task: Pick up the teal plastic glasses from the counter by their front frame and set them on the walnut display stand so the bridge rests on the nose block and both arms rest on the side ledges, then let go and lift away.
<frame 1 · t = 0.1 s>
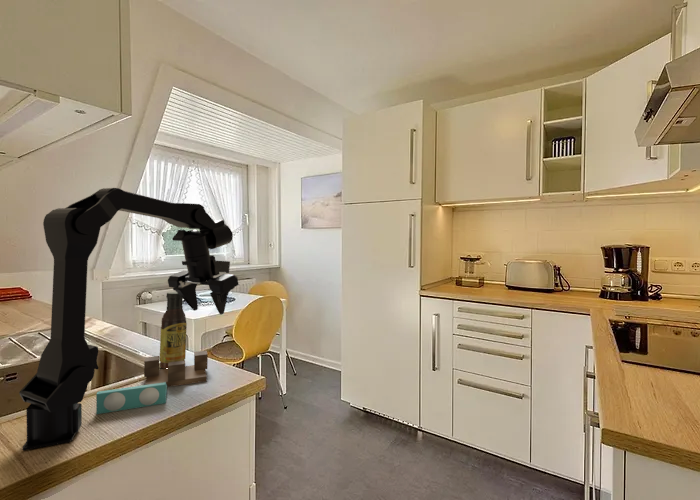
hand: (208, 311, 92), 15 cm above the table, tool pointing down, fingers open, 9 cm apart
glasses: (132, 407, 72), on the table
sauce bottle: (173, 366, 95), on the table
display stand: (176, 378, 87), on the table
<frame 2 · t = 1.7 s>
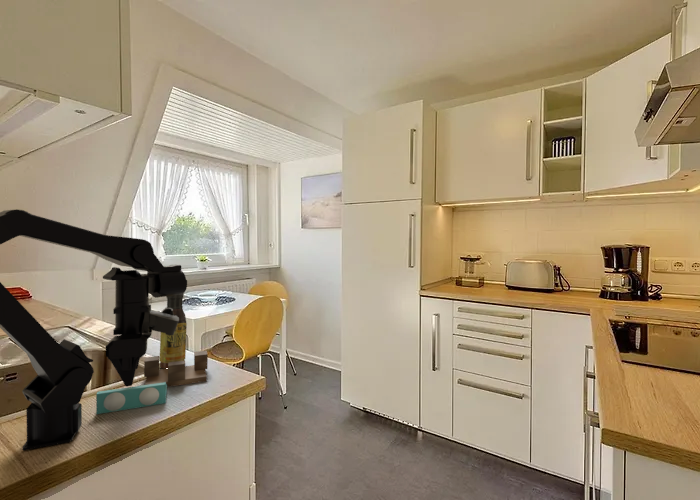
hand: (131, 377, 72), 6 cm above the table, tool pointing down, fingers open, 9 cm apart
nothing on the table moved.
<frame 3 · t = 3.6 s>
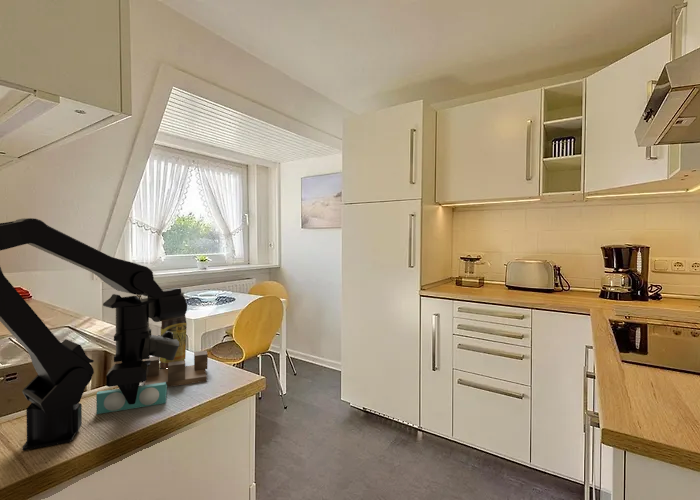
hand: (132, 402, 72), 1 cm above the table, tool pointing down, fingers closed on glasses
glasses: (132, 407, 72), on the table, touching gripper
everything else where it was.
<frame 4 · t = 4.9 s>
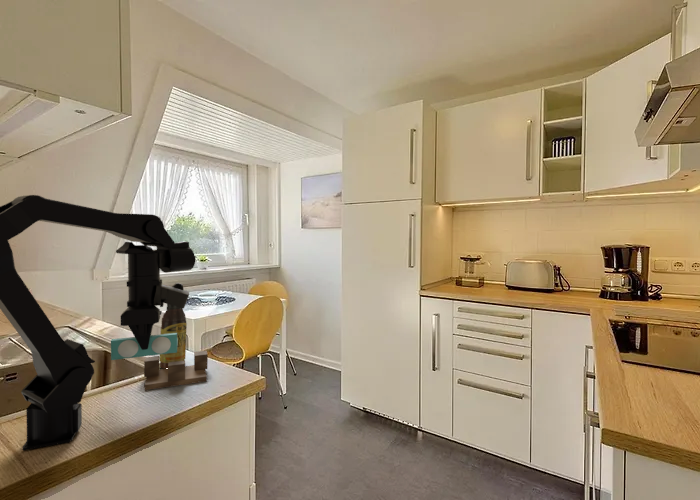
hand: (145, 348, 75), 11 cm above the table, tool pointing down, fingers closed on glasses
glasses: (145, 355, 75), point 10 cm above the table, touching gripper
everything else where it was.
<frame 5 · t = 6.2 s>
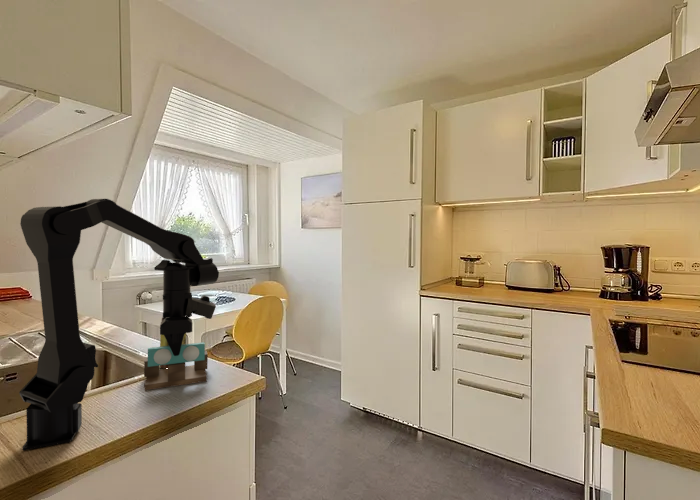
hand: (176, 354, 83), 7 cm above the table, tool pointing down, fingers closed on glasses
glasses: (177, 362, 84), point 5 cm above the table, touching gripper
everything else where it was.
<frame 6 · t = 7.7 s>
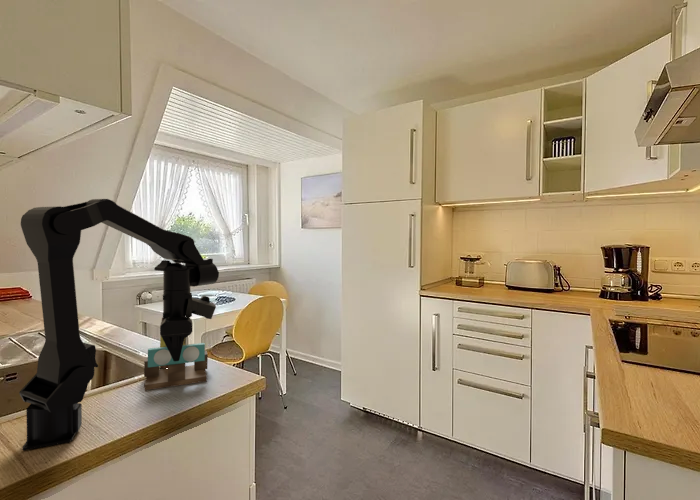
hand: (176, 354, 83), 7 cm above the table, tool pointing down, fingers open, 9 cm apart
glasses: (177, 363, 84), point 5 cm above the table, touching display stand
everything else where it was.
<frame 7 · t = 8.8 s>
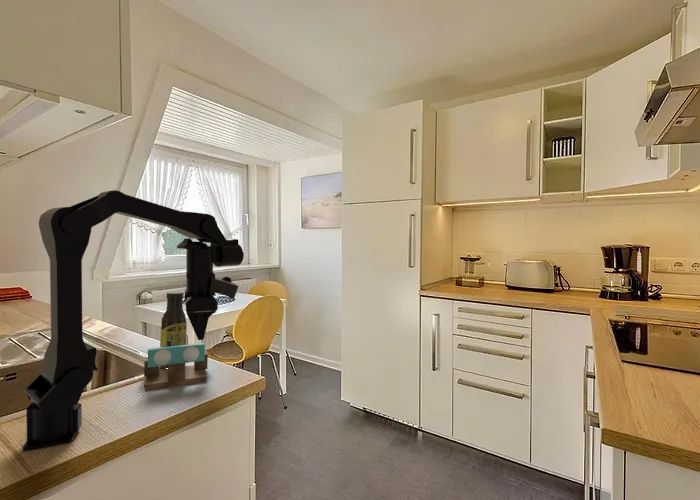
hand: (199, 334, 83), 12 cm above the table, tool pointing down, fingers open, 9 cm apart
nothing on the table moved.
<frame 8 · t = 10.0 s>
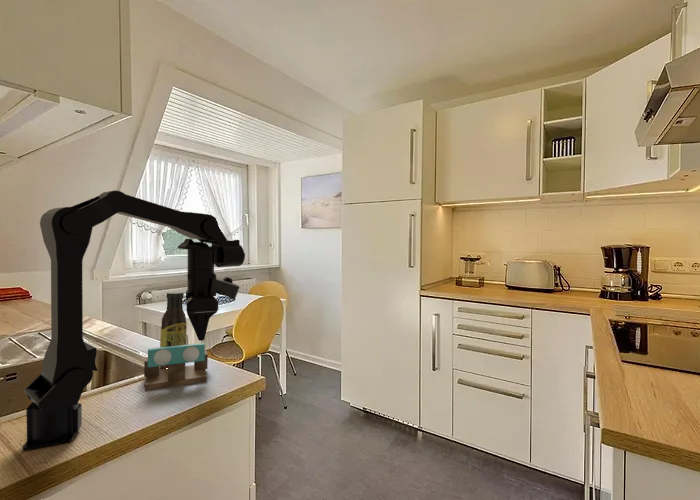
hand: (200, 334, 83), 12 cm above the table, tool pointing down, fingers open, 9 cm apart
nothing on the table moved.
at the end: glasses 0.1 cm from the target spot on the display stand, point 5.0 cm above the display stand's base; glasses tilted 0°; the gripper is holding nothing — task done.
